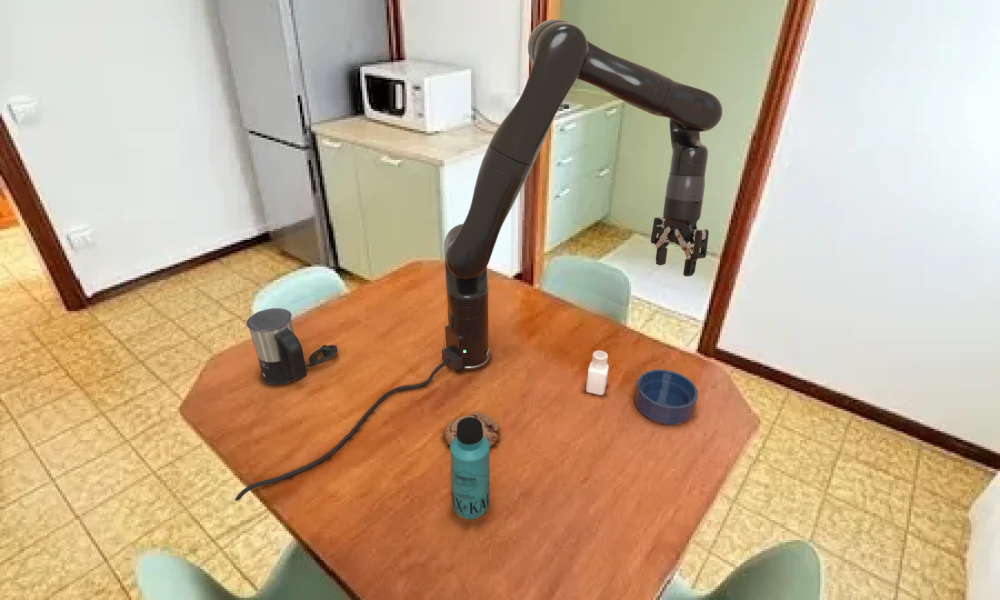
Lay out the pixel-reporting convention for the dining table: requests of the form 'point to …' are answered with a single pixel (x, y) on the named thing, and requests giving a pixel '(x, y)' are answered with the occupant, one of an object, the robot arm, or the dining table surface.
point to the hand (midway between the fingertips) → (674, 270)
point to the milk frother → (281, 347)
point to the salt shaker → (597, 373)
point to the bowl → (665, 396)
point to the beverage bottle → (470, 469)
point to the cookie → (487, 424)
